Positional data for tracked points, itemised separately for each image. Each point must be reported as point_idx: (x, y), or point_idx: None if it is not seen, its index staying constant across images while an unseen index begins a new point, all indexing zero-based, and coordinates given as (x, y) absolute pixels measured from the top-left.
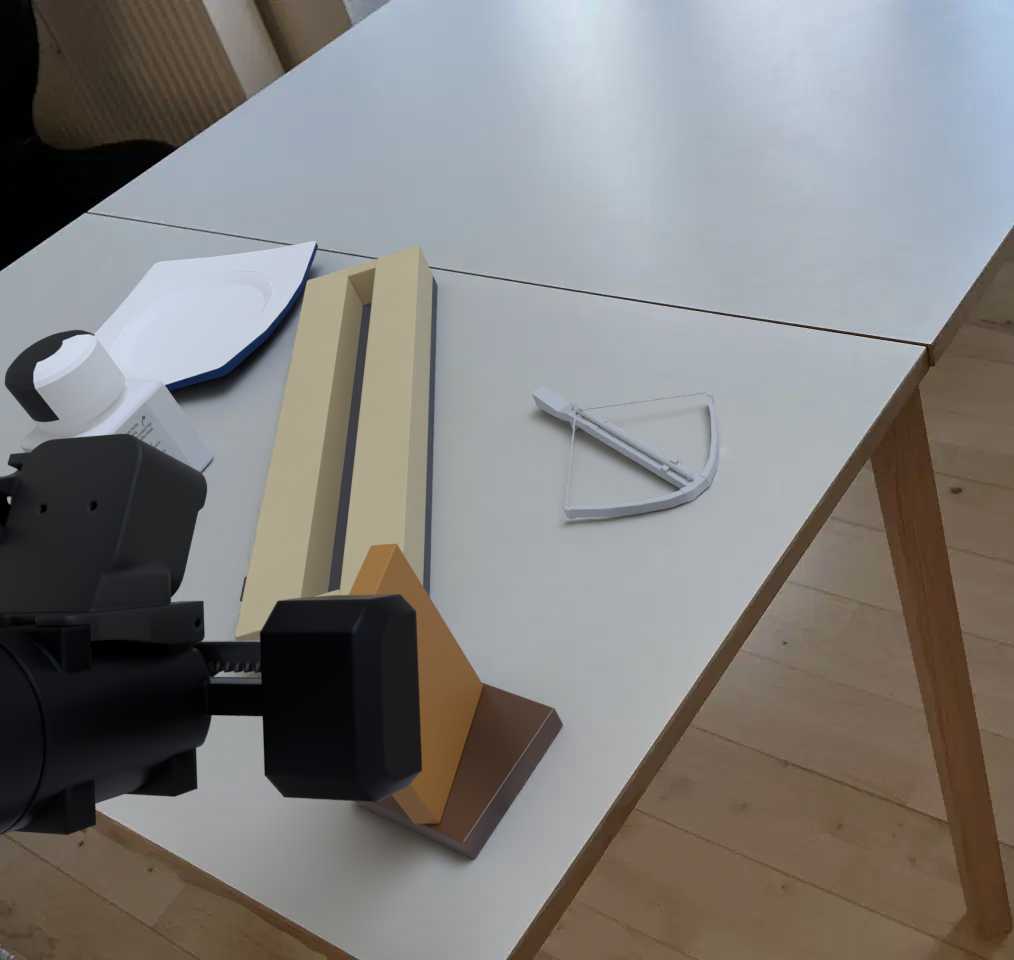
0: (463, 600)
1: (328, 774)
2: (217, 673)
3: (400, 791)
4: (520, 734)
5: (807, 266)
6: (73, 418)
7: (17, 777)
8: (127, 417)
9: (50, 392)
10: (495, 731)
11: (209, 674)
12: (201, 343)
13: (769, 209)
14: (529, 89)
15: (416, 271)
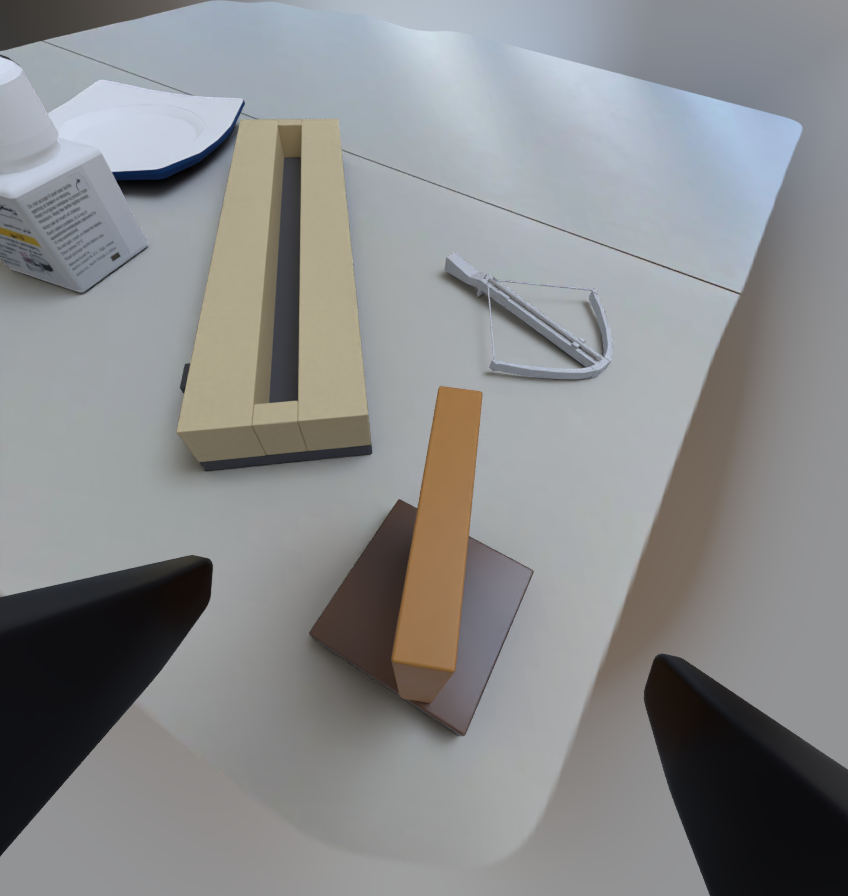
0: (401, 426)
1: None
2: (200, 614)
3: (415, 695)
4: (504, 596)
5: (631, 217)
6: None
7: None
8: (59, 173)
9: None
10: (475, 587)
11: (185, 628)
12: (139, 152)
13: (591, 173)
14: (395, 56)
15: (338, 136)
